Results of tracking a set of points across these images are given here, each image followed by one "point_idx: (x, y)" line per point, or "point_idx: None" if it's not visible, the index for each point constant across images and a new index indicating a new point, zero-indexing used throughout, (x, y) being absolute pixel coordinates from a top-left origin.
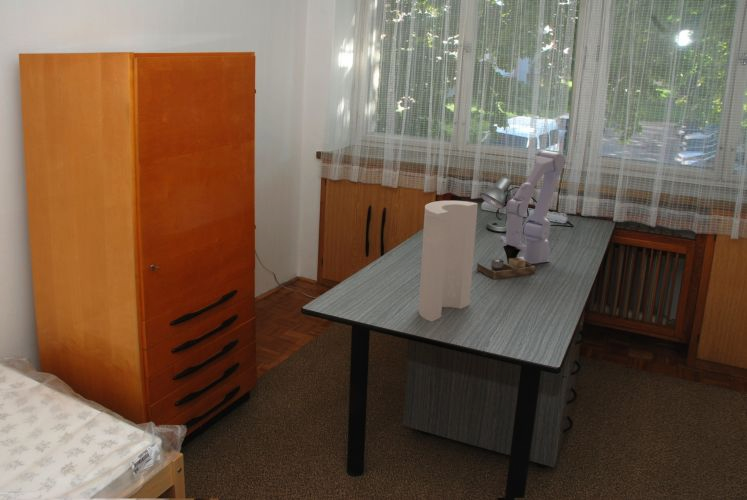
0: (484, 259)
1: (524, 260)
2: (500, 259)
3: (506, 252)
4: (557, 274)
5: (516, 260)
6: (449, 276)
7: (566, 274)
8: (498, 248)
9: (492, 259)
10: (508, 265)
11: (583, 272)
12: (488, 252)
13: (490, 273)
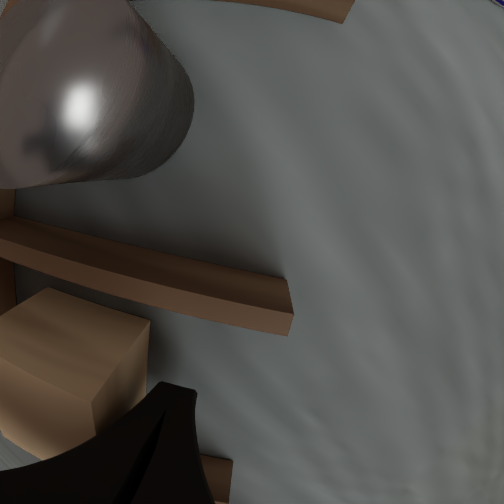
0: (487, 341)
1: (3, 432)
2: (24, 165)
3: (174, 498)
4: (5, 440)
5: (2, 384)
6: None
7: (6, 457)
8: (467, 497)
9: (118, 4)
10: (127, 341)
11: None
12: (498, 441)
13: None
